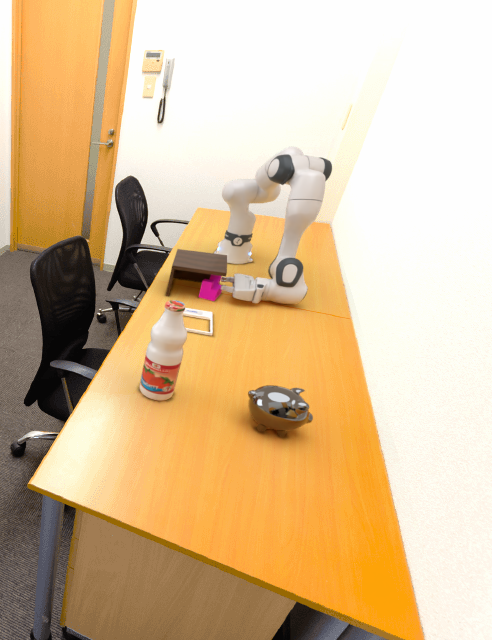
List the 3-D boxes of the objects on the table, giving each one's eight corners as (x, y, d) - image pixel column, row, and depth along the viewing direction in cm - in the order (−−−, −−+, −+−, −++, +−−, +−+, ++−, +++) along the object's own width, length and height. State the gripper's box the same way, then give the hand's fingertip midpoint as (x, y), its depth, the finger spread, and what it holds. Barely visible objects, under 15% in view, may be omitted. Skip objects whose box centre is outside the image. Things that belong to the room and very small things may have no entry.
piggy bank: (308, 449, 103) (326, 412, 97) (239, 432, 108) (252, 396, 102) (300, 420, 112) (317, 385, 106) (237, 406, 117) (249, 371, 111)
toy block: (214, 301, 175) (218, 284, 171) (198, 297, 178) (202, 280, 174) (224, 289, 185) (228, 273, 181) (209, 286, 188) (213, 270, 184)
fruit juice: (178, 391, 123) (201, 304, 109) (162, 406, 117) (184, 315, 103) (149, 377, 129) (167, 293, 114) (132, 390, 123) (149, 303, 109)
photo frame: (212, 311, 164) (212, 332, 149) (211, 314, 164) (211, 335, 150) (172, 305, 169) (168, 325, 154) (171, 307, 169) (168, 327, 155)
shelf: (171, 277, 197) (177, 248, 190) (219, 284, 190) (227, 255, 183) (165, 295, 179) (172, 265, 173) (218, 304, 172) (226, 273, 165)
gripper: (259, 272, 179) (223, 267, 185) (262, 290, 163) (222, 284, 169) (254, 286, 183) (219, 281, 188) (257, 305, 167) (218, 299, 172)
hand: (221, 283), depth 178 cm, fingers open, 8 cm apart
